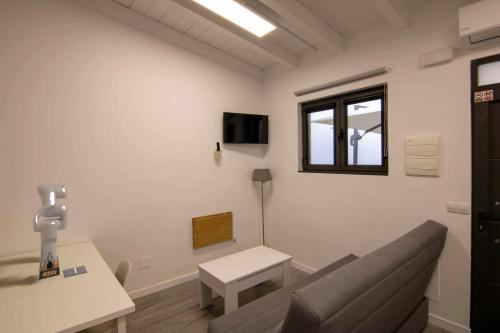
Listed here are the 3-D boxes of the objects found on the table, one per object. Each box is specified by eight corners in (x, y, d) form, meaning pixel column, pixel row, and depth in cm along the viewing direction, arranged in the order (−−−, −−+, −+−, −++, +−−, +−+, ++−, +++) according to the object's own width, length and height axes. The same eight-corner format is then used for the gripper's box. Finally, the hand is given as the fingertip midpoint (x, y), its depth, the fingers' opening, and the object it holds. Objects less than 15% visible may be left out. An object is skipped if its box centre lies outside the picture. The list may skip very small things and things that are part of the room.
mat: (63, 270, 175) (63, 269, 175) (84, 266, 183) (84, 265, 183) (65, 277, 165) (65, 276, 165) (86, 272, 172) (86, 271, 172)
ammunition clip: (59, 273, 170) (59, 256, 170) (59, 274, 169) (59, 256, 169) (38, 278, 162) (38, 260, 163) (39, 279, 161) (39, 261, 161)
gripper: (42, 238, 170) (42, 264, 170) (42, 244, 157) (42, 272, 156) (56, 237, 175) (56, 261, 175) (57, 242, 162) (57, 268, 161)
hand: (49, 266), depth 165 cm, fingers open, 9 cm apart
